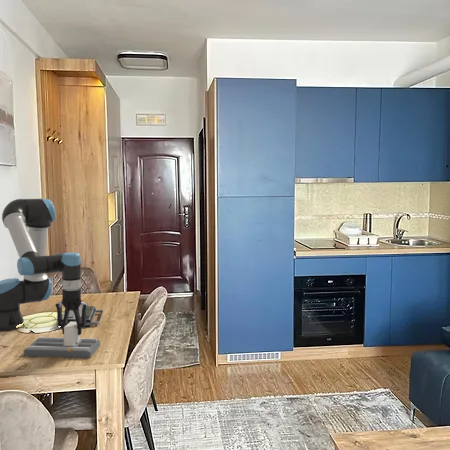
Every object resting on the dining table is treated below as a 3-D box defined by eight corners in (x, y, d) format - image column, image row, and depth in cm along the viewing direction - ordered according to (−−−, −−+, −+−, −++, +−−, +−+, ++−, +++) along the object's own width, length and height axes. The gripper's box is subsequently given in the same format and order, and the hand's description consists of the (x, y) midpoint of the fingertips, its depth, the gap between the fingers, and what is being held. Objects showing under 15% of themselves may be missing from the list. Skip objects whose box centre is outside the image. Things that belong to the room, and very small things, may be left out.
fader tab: (61, 347, 192) (61, 327, 192) (68, 341, 200) (68, 321, 200) (75, 348, 192) (75, 327, 192) (82, 341, 200) (81, 321, 200)
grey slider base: (23, 356, 190) (23, 347, 189) (37, 344, 204) (37, 336, 203) (90, 357, 190) (90, 349, 189) (99, 345, 204) (99, 337, 203)
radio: (65, 305, 249) (102, 304, 252) (65, 314, 250) (102, 313, 253) (56, 318, 225) (98, 317, 229) (57, 329, 226) (98, 327, 229)
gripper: (48, 290, 190) (49, 344, 193) (88, 291, 190) (89, 345, 192) (55, 286, 198) (55, 338, 200) (94, 287, 198) (94, 339, 200)
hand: (72, 341), depth 196 cm, fingers closed on fader tab, 4 cm apart
